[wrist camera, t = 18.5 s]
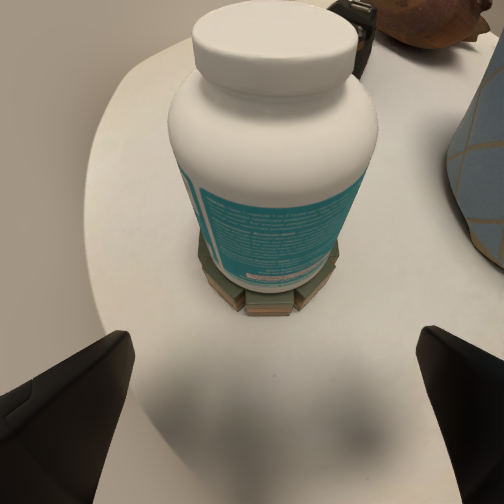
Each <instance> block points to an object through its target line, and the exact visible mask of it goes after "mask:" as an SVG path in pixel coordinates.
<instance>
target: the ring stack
mask: <svg viewBox="0 0 504 504" xmlns="http://www.w3.org/2000/svg"><path fill="white" fill-rule="evenodd" d="M338 257H339V249H338V241H337V239H336V242H335V244H334V246H333V248H332V250H331V252H330V254H329V256H328V258H327V260H326V262H325V264H324V266H323V267H322V268H321V270H320V271H319V272H318V273H317V274H316V275H315V276H314V277H313V278H312V279H310V280H309V281H308V282H306V283H305V284H303V285H301V286H299V287H297V288H294V289H292V290H288V291H284V292H278V293H262V292H256V291H252V290H248V289H246V288H243V287H241V286H239V285H237V284H236V283H234V282H232V281H231V280H230V279H228V278H227V277H226V276H225V275H224V274H223V273H222V272H221V271H220V270H219V269H218V267H217V266H216V264H215V263H214V261H213V259H212V257H211V255H210V252H209V250H208V247H207V245H206V242H205V239H204V237H203V234H202V231H201V228H200V235H199V247H198V258H199V260H200V262H201V264H202V269H203V271H204V273H205V275H206V277H207V279H208V282H209V284H210V285H211V286H212V287H213V288H214V289H215V290H216V291H217V292H218V293H219V294H220V295H221V296H222V297H223V298H224V299H225V300H226V301H227V302H228V303H229V304H230V305H231V306H232V307H233V308H234V309H235V310H236V311H237V312H238V311H239V310H240V309H241V308H242V307H243V306H246V311H247V315H248V316H289V314H290V312H291V310H292V308H293V306H294V307H295V308H296V309H297V310H298V311H300V310H301V309H302V308H303V307H304V306H305V305H306V304H307V303H308V302H309V301H310V300H311V299H312V298H313V296H314V295H315V294H316V293H317V292H318V291H319V290H320V289H321V288H322V287H323V286H324V285H325V283H326V282H327V280H328V279H329V277H330V276H331V274H332V272H333V270H334V269H335V267H336V266H335V265H334V264H335V262H336V260H337V259H338Z"/></svg>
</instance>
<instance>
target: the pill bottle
mask: <svg viewBox="0 0 504 504" xmlns="http://www.w3.org/2000/svg"><path fill="white" fill-rule="evenodd" d="M192 41H193V49H194V56H195V64H196V69H195V70H194V71H193V72H192V73H191V74H189V75H188V76H187V77H186V79H185V80H184V81H183V82H182V83H181V85H180V86H179V88H178V89H177V91H176V93H175V95H174V97H173V99H172V102H171V105H170V109H169V113H168V133H169V138H170V143H171V146H172V149H173V152H174V155H175V158H176V161H177V164H178V167H179V169H180V173H181V175H182V178H183V181H184V184H185V187H186V189H187V192H188V195H189V198H190V201H191V203H192V206H193V209H194V212H195V215H196V217H197V220H198V223H199V226H200V228H201V231H202V234H203V237H204V239H205V242H206V245H207V247H208V250H209V252H210V255H211V257H212V259H213V261H214V263H215V264H216V266H217V267H218V269H219V270H220V271H221V272H222V273H223V274H224V275H225V276H226V277H227V278H228V279H230V280H231V281H232V282H234V283H236V284H237V285H239V286H241V287H243V288H246V289H248V290H252V291H256V292H262V293H278V292H284V291H288V290H292V289H294V288H297V287H299V286H301V285H303V284H305V283H306V282H308V281H309V280H310V279H312V278H313V277H314V276H315V275H316V274H317V273H318V272H319V271H320V270H321V268H322V267H323V266H324V264H325V262H326V260H327V258H328V256H329V254H330V252H331V250H332V248H333V246H334V244H335V242H336V239H337V237H338V235H339V233H340V230H341V228H342V226H343V224H344V222H345V219H346V217H347V215H348V212H349V210H350V208H351V206H352V203H353V201H354V199H355V196H356V194H357V192H358V189H359V187H360V185H361V182H362V180H363V177H364V175H365V173H366V170H367V168H368V165H369V162H370V160H371V157H372V155H373V152H374V149H375V146H376V142H377V136H378V119H377V113H376V110H375V106H374V104H373V102H372V99H371V97H370V96H369V94H368V92H367V91H366V89H365V88H364V86H363V85H362V84H361V83H360V81H359V80H358V79H357V78H356V77H355V76H354V75H353V74H352V71H353V69H354V62H355V56H356V50H357V45H358V34H357V32H356V30H355V28H354V27H353V26H352V25H351V24H350V23H349V22H348V21H347V20H346V19H344V18H343V17H341V16H339V15H337V14H335V13H333V12H331V11H329V10H326V9H323V8H320V7H317V6H314V5H310V4H305V3H300V2H293V1H282V0H257V1H248V2H241V3H236V4H232V5H228V6H224V7H221V8H219V9H216V10H213V11H211V12H209V13H208V14H206V15H204V16H203V17H202V18H200V19H199V20H198V21H197V23H195V25H194V27H193V29H192Z"/></svg>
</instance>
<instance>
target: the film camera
mask: <svg viewBox="0 0 504 504" xmlns="http://www.w3.org/2000/svg"><path fill="white" fill-rule="evenodd" d="M326 10H329V11H331V12H333V13H335V14H337V15H339V16H341V17H343V18H344V19H346V20H347V21H348V22H349V23H350V24H351V25H352V26H353V27H354V28H355V30H356V32H357V34H358V45H357V50H356V56H355V62H354V69H353V71H352V74H353V75H354V76H355V77H356V78H357V79H358V80H360V77H361V75H362V73H363V70H364V67H365V65H366V63H367V60H368V58H369V55H370V53H371V48H372V44H373V40H374V34H375V28H376V20H377V10H378V9H377V8H376V7H375V6H374V5H373V4H372V3H371V2H369V1H366V0H360V1H359V0H352V1H349V0H338V1H336V2H334V3H333V4H331V5H330V6H329V7H328V8H327V9H326Z"/></svg>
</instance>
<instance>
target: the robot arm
mask: <svg viewBox="0 0 504 504" xmlns="http://www.w3.org/2000/svg"><path fill="white" fill-rule="evenodd" d="M416 356H417V360H418V363H419V366H420V370H421V373H422V377H423V380H424V384H425V388H426V391H427V394H428V397H429V400H430V402H431V405H432V407H433V410H434V413H435V416H436V418H437V421H438V424H439V427H440V430H441V433H442V435H443V438H444V441H445V444H446V447H447V451H448V454H449V457H450V460H451V463H452V467H453V470H454V473H455V477H456V480H457V484H458V488H459V491H460V495H461V499H462V504H504V361H503V360H501V359H499V358H497V357H495V356H493V355H491V354H489V353H488V352H486V351H484V350H482V349H480V348H478V347H476V346H474V345H472V344H470V343H468V342H466V341H464V340H462V339H461V338H459V337H457V336H455V335H453V334H451V333H449V332H447V331H445V330H443V329H441V328H439V327H437V326H434V325H432V326H425V327H423V329H422V330H421V333H420V337H419V340H418V343H417V346H416ZM134 361H135V351H134V348H133V344H132V340H131V336H130V334H129V332H127V331H121V330H115V331H114V332H112V333H110V334H108V335H107V336H105V337H103V338H102V339H100V340H98V341H96V342H95V343H93V344H91V345H89V346H88V347H86V348H85V349H83V350H81V351H79V352H77V353H76V354H74V355H72V356H71V357H69V358H67V359H66V360H64V361H62V362H60V363H59V364H57V365H55V366H53V367H52V368H50V369H48V370H47V371H45V372H43V373H41V374H40V375H38V376H36V377H35V378H33V380H32V379H31V380H30V381H28V382H26V383H24V384H22V385H21V386H19V387H17V388H15V389H14V390H12V391H10V392H8V393H6V394H4V395H2V396H0V504H93V499H94V496H95V493H96V489H97V486H98V482H99V479H100V476H101V472H102V469H103V466H104V463H105V459H106V456H107V453H108V449H109V447H110V444H111V440H112V437H113V434H114V431H115V428H116V426H117V423H118V420H119V417H120V414H121V411H122V408H123V405H124V402H125V399H126V395H127V390H128V386H129V382H130V378H131V373H132V369H133V365H134Z"/></svg>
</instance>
